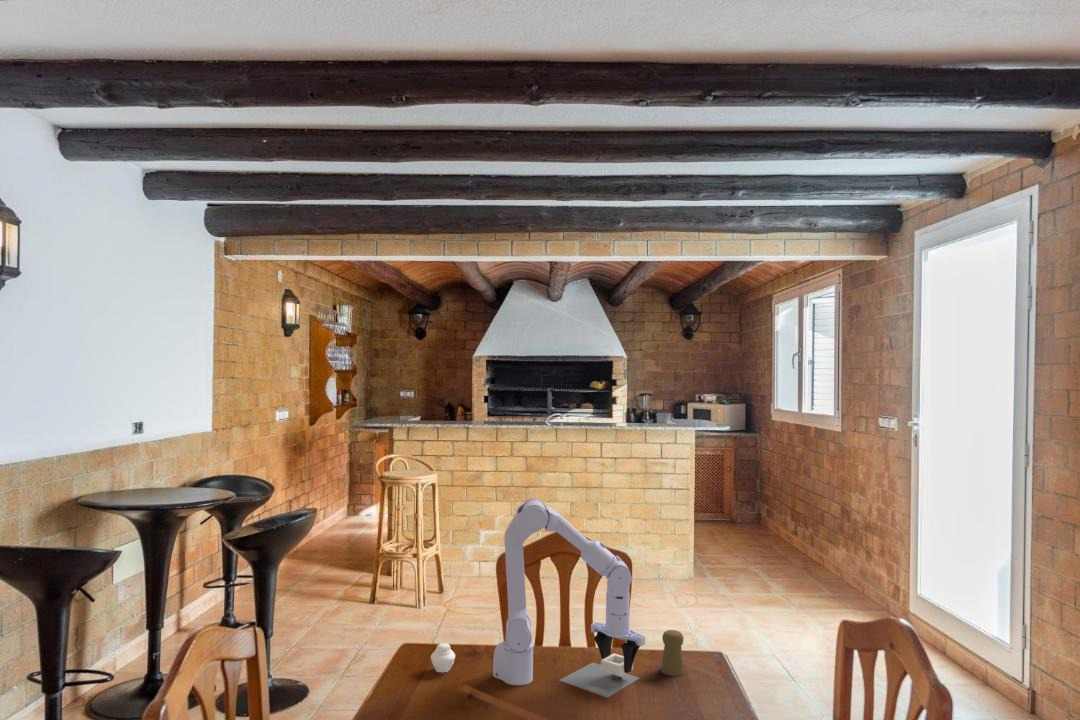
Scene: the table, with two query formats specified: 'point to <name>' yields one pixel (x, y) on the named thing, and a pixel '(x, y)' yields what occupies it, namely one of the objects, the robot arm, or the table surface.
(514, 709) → the table surface
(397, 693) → the table surface
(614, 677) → the post
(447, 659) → the white rounded jar shape
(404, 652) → the table surface
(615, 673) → the collar
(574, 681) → the board
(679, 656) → the cork
